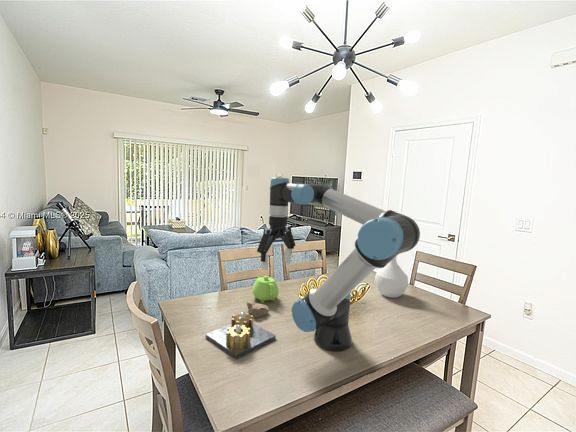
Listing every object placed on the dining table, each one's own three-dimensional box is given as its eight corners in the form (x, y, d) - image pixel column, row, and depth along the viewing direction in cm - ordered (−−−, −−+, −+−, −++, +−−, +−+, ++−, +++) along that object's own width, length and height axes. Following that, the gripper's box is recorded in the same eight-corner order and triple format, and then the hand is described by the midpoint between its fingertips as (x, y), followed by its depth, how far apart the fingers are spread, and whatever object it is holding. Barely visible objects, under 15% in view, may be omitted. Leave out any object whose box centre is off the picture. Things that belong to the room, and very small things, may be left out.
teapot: (246, 293, 170) (247, 272, 168) (268, 290, 176) (269, 269, 174) (261, 308, 152) (262, 283, 151) (284, 303, 159) (285, 280, 157)
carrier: (275, 338, 124) (276, 319, 123) (236, 358, 109) (236, 336, 108) (244, 321, 137) (244, 303, 136) (205, 337, 123) (205, 317, 121)
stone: (252, 319, 140) (253, 309, 140) (245, 309, 151) (246, 299, 150) (270, 316, 144) (271, 306, 143) (262, 306, 154) (263, 297, 154)
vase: (369, 288, 186) (373, 241, 182) (397, 289, 188) (402, 241, 184) (381, 301, 168) (386, 248, 164) (412, 301, 170) (418, 249, 166)
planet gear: (254, 343, 117) (254, 330, 117) (236, 352, 111) (236, 339, 110) (240, 334, 123) (240, 322, 123) (221, 342, 117) (222, 330, 116)
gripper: (291, 212, 135) (289, 259, 138) (248, 216, 117) (247, 269, 120) (304, 214, 130) (302, 262, 133) (262, 219, 112) (260, 274, 115)
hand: (276, 266), depth 126 cm, fingers open, 13 cm apart
